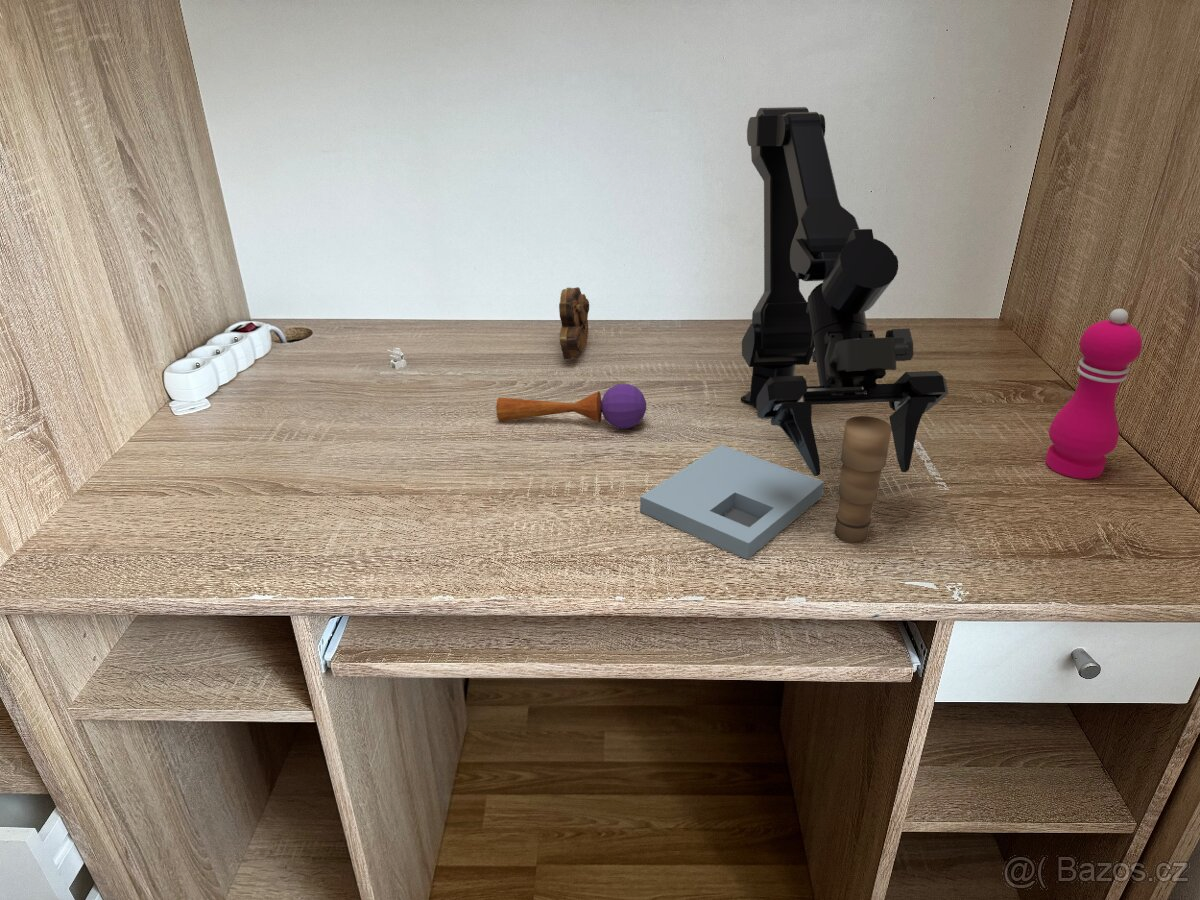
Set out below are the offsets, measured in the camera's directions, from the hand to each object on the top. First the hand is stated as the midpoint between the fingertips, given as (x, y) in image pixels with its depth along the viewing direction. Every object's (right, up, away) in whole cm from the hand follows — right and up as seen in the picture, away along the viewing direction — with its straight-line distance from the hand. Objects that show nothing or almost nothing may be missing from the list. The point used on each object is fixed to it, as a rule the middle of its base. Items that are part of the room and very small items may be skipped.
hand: (861, 473), depth 84 cm
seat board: (-12, -4, +9) cm, 15 cm away
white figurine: (-60, +15, +46) cm, 77 cm away
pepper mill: (+31, 0, +16) cm, 35 cm away
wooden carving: (-31, +19, +52) cm, 63 cm away
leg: (0, -7, +4) cm, 8 cm away
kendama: (-31, +6, +28) cm, 42 cm away
